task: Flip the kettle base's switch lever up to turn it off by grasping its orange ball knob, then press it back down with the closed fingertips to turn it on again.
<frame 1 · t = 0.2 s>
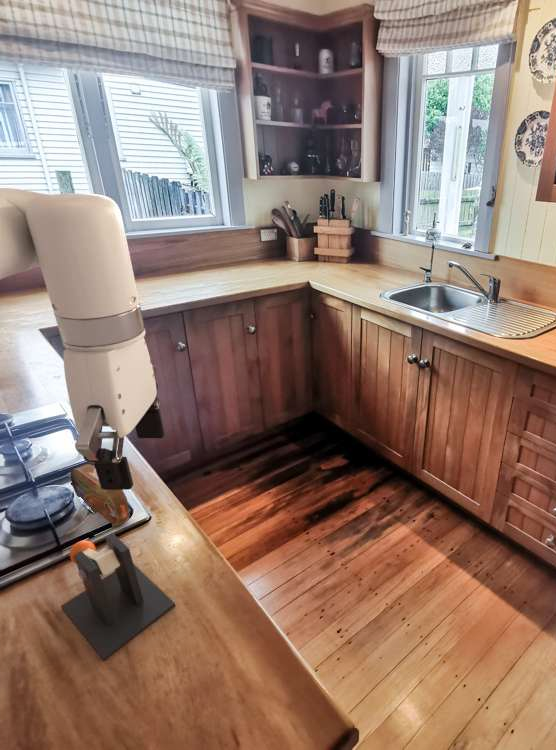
hand: (136, 460, 55), 26 cm above the worktop, tool pointing down, fingers open, 9 cm apart
kettle switch: (93, 556, 65), point 8 cm above the worktop, hinge at -25.0°
kettle base: (120, 611, 66), on the worktop
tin: (105, 513, 83), on the worktop
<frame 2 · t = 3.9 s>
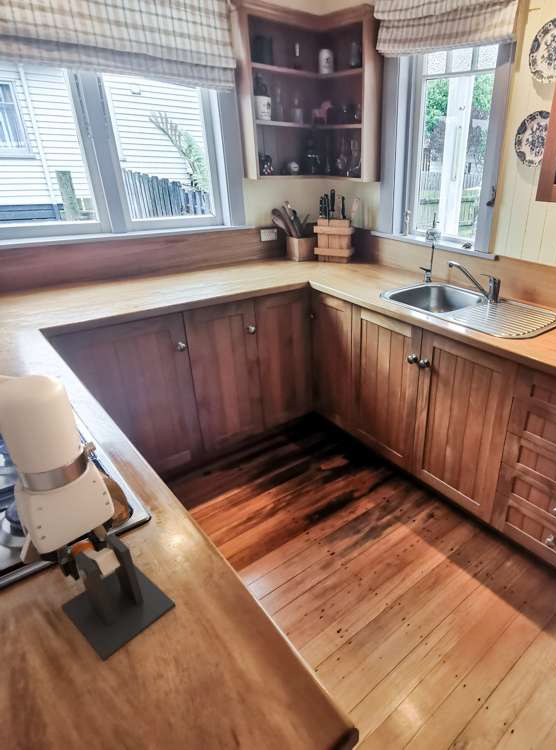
hand: (87, 565, 69), 3 cm above the worktop, tool pointing down, fingers closed on kettle switch, 3 cm apart
kettle switch: (93, 556, 65), point 8 cm above the worktop, hinge at -25.0°, touching gripper
everything else where it was.
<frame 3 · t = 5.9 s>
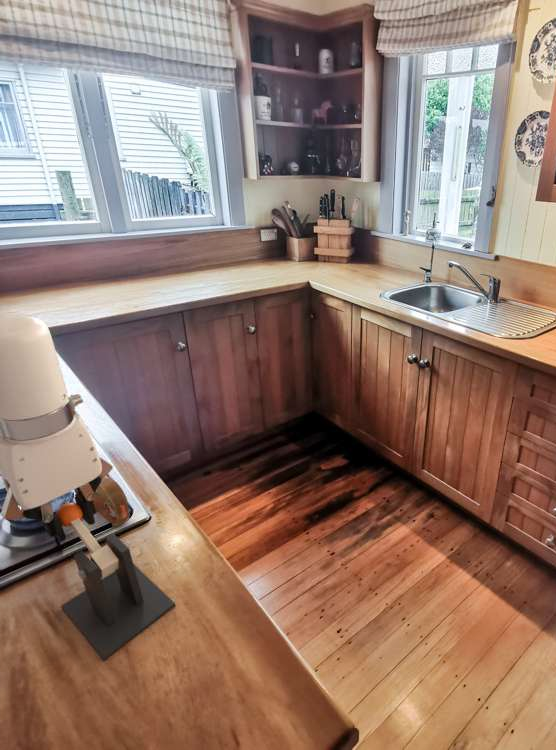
hand: (73, 527, 65), 11 cm above the worktop, tool pointing down, fingers closed on kettle switch, 3 cm apart
kettle switch: (86, 536, 63), point 12 cm above the worktop, hinge at 21.3°, touching gripper
everything else where it was.
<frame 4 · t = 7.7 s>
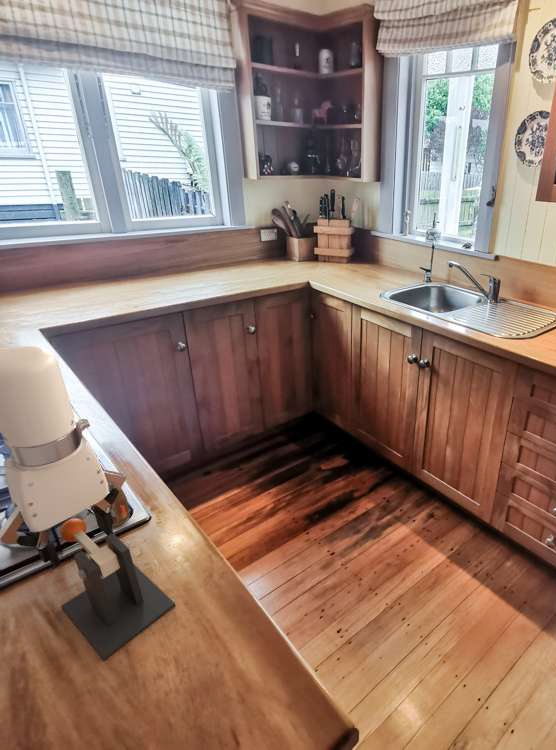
hand: (80, 544, 67), 8 cm above the worktop, tool pointing down, fingers open, 6 cm apart
kettle switch: (88, 544, 64), point 10 cm above the worktop, hinge at -0.3°
everything else where it was.
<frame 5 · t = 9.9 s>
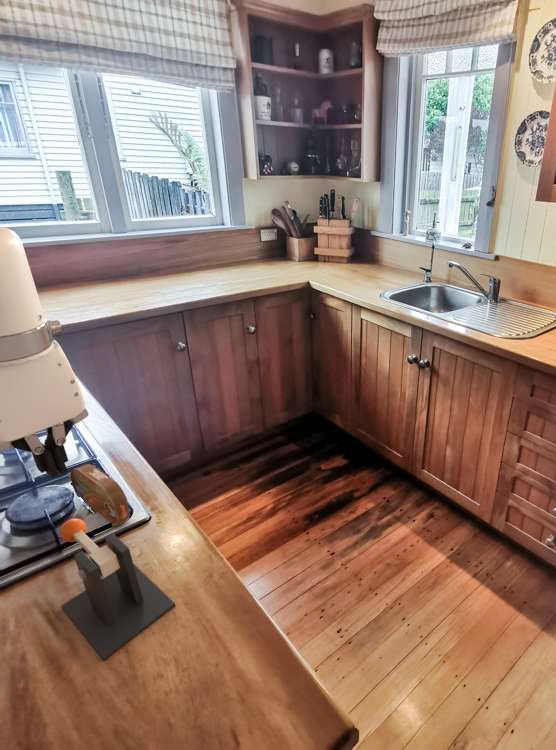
hand: (55, 470, 61), 21 cm above the worktop, tool pointing down, fingers closed
nothing on the worktop moved.
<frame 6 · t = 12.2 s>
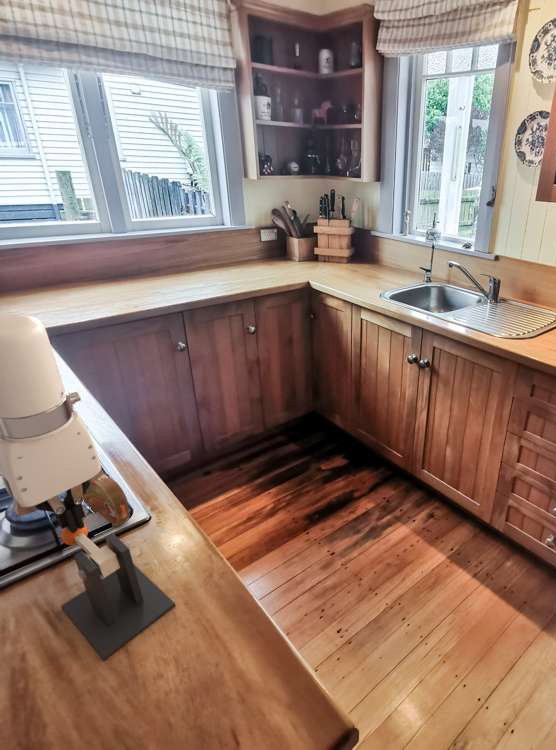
hand: (74, 525, 66), 11 cm above the worktop, tool pointing down, fingers closed
kettle switch: (88, 546, 64), point 10 cm above the worktop, hinge at -4.5°, touching gripper
everything else where it was.
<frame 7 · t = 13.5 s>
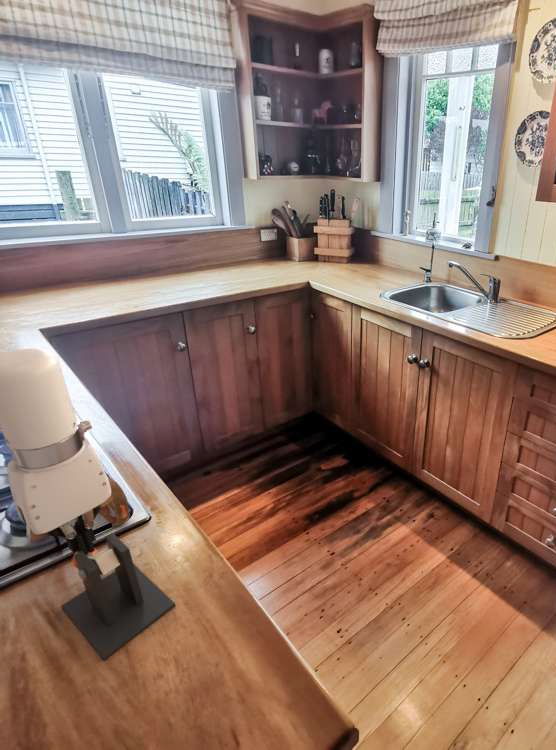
hand: (84, 549, 67), 7 cm above the worktop, tool pointing down, fingers closed
kettle switch: (94, 559, 65), point 8 cm above the worktop, hinge at -31.3°, touching gripper
everything else where it was.
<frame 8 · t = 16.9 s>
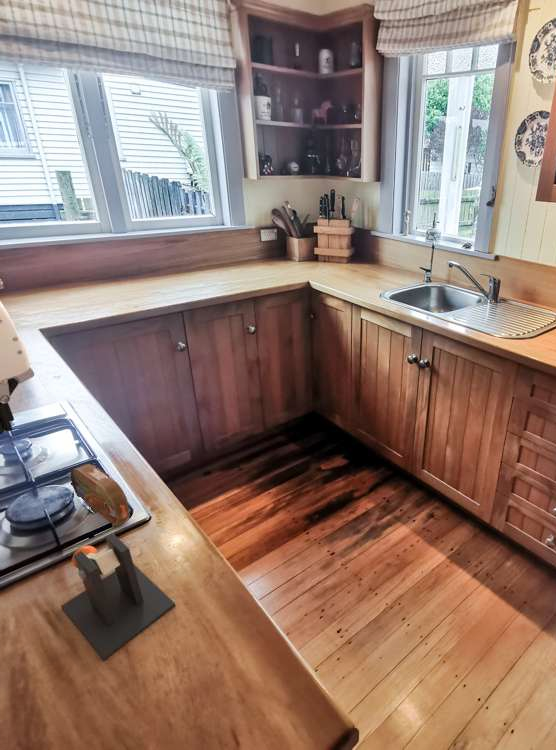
hand: (1, 428, 62), 25 cm above the worktop, tool pointing down, fingers closed
kettle switch: (94, 559, 65), point 8 cm above the worktop, hinge at -30.6°
everything else where it was.
at the end: kettle switch reached +21° during the clip, -31° at the end; kettle switch at -31° (first picture: -25°) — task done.
